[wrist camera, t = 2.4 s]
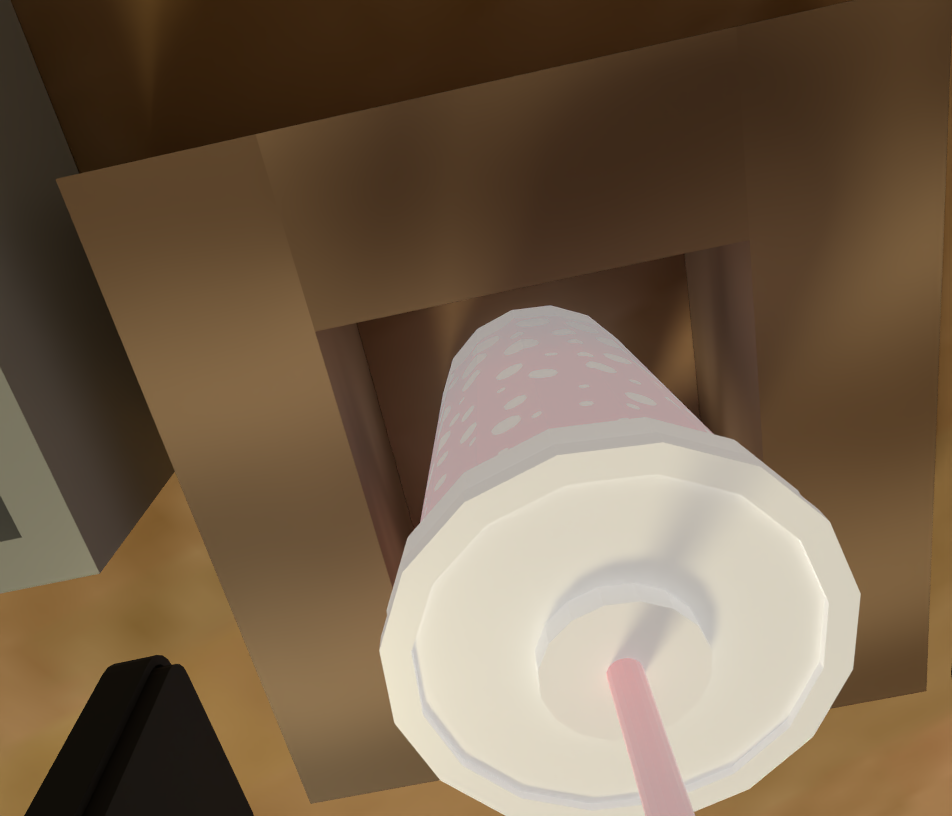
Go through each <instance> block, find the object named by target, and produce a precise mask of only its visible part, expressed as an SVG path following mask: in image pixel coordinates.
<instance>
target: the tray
mask: <svg viewBox="0 0 952 816" xmlns="http://www.w3.org/2000/svg"><path fill="white" fill-rule="evenodd" d="M75 174H79V172H78V169H77V167H76V164H75V162H74V159H73V157H72V154H71V152H70V149H69V147H68V144H67V142H66V139H65V137H64V134H63V132H62V129H61V127H60V124H59V121H58V119H57V116H56V114H55V111H54V109H53V106H52V104H51V101H50V99H49V96H48V94H47V91H46V89H45V86H44V84H43V81H42V79H41V76H40V73H39V71H38V68H37V66H36V63H35V61H34V58H33V56H32V53H31V51H30V48H29V46H28V43H27V41H26V38H25V36H24V33H23V31H22V28H21V25H20V23H19V20H18V18H17V15H16V13H15V10H14V8H13V5H12V3H11V0H0V593H5V592H10V591H15V590H20V589H25V588H30V587H35V586H40V585H45V584H50V583H55V582H60V581H65V580H70V579H75V578H80V577H85V576H90V575H95V574H100V572H101V571H102V570H103V568H104V567H105V566H106V564H107V563H108V562H109V560H110V559H111V558H112V556H113V555H114V553H115V552H116V551H117V549H118V548H119V547H120V545H121V544H122V543H123V541H124V540H125V538H126V537H127V536H128V534H129V533H130V532H131V530H132V529H133V528H134V526H135V525H136V523H137V522H138V521H139V519H140V518H141V517H142V515H143V514H144V513H145V511H146V510H147V509H148V507H149V506H150V504H151V503H152V502H153V500H154V499H155V498H156V496H157V495H158V494H159V492H160V491H161V489H162V488H163V487H164V485H165V484H166V483H167V481H168V480H169V479H170V477H171V476H172V474H173V473H174V472H175V470H174V468H173V466H172V463H171V461H170V458H169V456H168V453H167V451H166V448H165V446H164V444H163V441H162V439H161V436H160V434H159V431H158V429H157V426H156V424H155V422H154V419H153V417H152V414H151V412H150V409H149V407H148V404H147V402H146V400H145V397H144V395H143V392H142V390H141V387H140V385H139V382H138V380H137V378H136V375H135V373H134V370H133V368H132V365H131V363H130V360H129V358H128V356H127V353H126V351H125V348H124V346H123V343H122V341H121V338H120V336H119V334H118V331H117V329H116V326H115V324H114V321H113V319H112V316H111V314H110V312H109V309H108V307H107V304H106V302H105V299H104V297H103V294H102V292H101V289H100V287H99V285H98V282H97V280H96V277H95V275H94V272H93V270H92V267H91V265H90V263H89V260H88V258H87V255H86V253H85V250H84V248H83V245H82V243H81V241H80V238H79V236H78V233H77V231H76V228H75V226H74V223H73V221H72V219H71V216H70V214H69V211H68V209H67V206H66V204H65V201H64V199H63V197H62V194H61V192H60V189H59V187H58V184H57V182H56V179H58V178H62V177H67V176H71V175H75Z"/></svg>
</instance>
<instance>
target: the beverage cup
mask: <svg viewBox="0 0 952 816" xmlns="http://www.w3.org/2000/svg"><path fill="white" fill-rule="evenodd" d="M860 596H861V593H860V591H859V589H858V586H857V584H856V582H855V579H854V577H853V575H852V572H851V570H850V568H849V565H848V563H847V561H846V558H845V556H844V554H843V551H842V549H841V547H840V544H839V542H838V540H837V537H836V535H835V533H834V530H833V528H832V526H831V523H830V521H829V520H828V519H827V518H826V517H825V516H824V515H823V514H822V512H821V511H820V510H819V509H817V508H816V507H815V506H814V505H812V504H811V503H810V502H809V501H807V500H806V499H805V498H804V497H802V496H801V495H800V493H799V491H798V490H797V489H796V488H794V487H793V486H792V485H791V484H789V483H788V482H787V481H786V480H784V479H783V478H782V477H781V476H779V475H778V474H777V473H776V472H774V471H773V470H772V469H771V468H769V467H768V466H767V465H766V464H764V463H763V462H762V461H761V460H759V459H758V458H757V457H756V456H754V455H753V454H752V453H751V452H749V451H748V450H747V449H746V448H744V447H743V446H742V445H740V444H739V443H738V442H737V441H735V440H734V439H730V438H726V437H722V436H718V435H714V434H713V433H712V432H711V431H710V430H709V429H708V428H707V427H706V426H705V425H704V424H703V423H702V422H701V421H700V420H699V419H698V418H697V417H696V416H695V415H694V414H693V413H692V412H691V411H690V410H689V409H688V408H687V407H686V406H685V405H684V404H683V403H682V402H681V401H680V400H679V399H678V398H677V397H676V396H675V395H673V394H672V393H671V392H670V391H669V390H668V389H667V388H666V387H665V386H664V385H663V384H662V383H661V382H660V381H659V380H658V379H657V378H656V377H655V376H654V375H653V374H652V373H651V372H650V371H649V370H648V369H647V368H646V367H645V366H644V365H643V364H642V363H641V362H640V361H639V360H638V359H637V358H636V357H635V356H634V355H633V354H632V353H631V352H630V351H629V350H628V349H627V348H626V347H625V346H624V345H623V344H622V343H621V342H620V341H619V340H618V339H617V338H615V337H614V336H613V335H612V334H610V333H609V332H608V331H607V330H605V329H604V328H603V327H602V326H600V325H599V324H598V323H597V322H595V321H594V320H593V319H592V318H590V317H589V316H588V315H584V314H581V313H577V312H573V311H570V310H566V309H562V308H559V307H555V306H551V305H550V306H542V307H534V308H525V309H517V310H511V311H509V312H507V313H506V314H504V315H502V316H500V317H498V318H496V319H495V320H493V321H491V322H489V323H487V324H485V325H484V326H482V327H480V328H478V329H477V330H476V331H475V332H474V334H473V335H472V336H471V337H470V338H469V340H468V341H467V342H466V343H465V345H464V346H463V347H462V348H461V349H460V351H459V352H458V353H457V354H456V356H455V357H454V358H453V361H452V364H451V368H450V371H449V375H448V378H447V382H446V385H445V389H444V392H443V397H442V403H441V408H440V414H439V420H438V425H437V431H436V436H435V442H434V448H433V453H432V459H431V465H430V470H429V476H428V482H427V487H426V493H425V498H424V504H423V510H422V515H421V521H420V524H419V525H418V526H417V527H416V528H415V529H414V531H413V532H412V533H411V534H410V535H409V536H408V538H407V541H406V545H405V548H404V552H403V555H402V558H401V562H400V565H399V569H398V572H397V576H396V579H395V583H394V586H393V590H392V593H391V596H390V600H389V603H388V607H387V610H386V611H387V617H386V621H385V624H384V628H383V631H382V635H381V641H380V649H379V652H380V657H381V661H382V666H383V671H384V676H385V681H386V685H387V690H388V695H389V700H390V705H391V709H392V714H393V719H394V723H395V725H396V726H397V727H398V728H399V730H400V731H401V732H402V733H403V735H404V736H405V737H406V738H407V739H408V741H409V742H410V743H411V744H412V746H413V747H414V748H415V749H416V751H417V752H418V753H419V754H420V756H421V757H422V758H423V759H424V761H425V762H426V763H427V764H428V766H429V767H430V768H431V769H432V771H433V772H434V773H435V774H436V776H437V777H438V778H439V779H440V780H441V781H443V782H444V783H446V784H448V785H450V786H452V787H454V788H455V789H457V790H459V791H461V792H463V793H465V794H467V795H468V796H470V797H472V798H474V799H476V800H478V801H479V802H481V803H483V804H485V805H487V806H489V807H491V808H492V809H494V810H496V811H498V812H500V813H502V814H504V815H505V816H695V814H694V811H697V810H699V809H702V808H704V807H707V806H709V805H711V804H714V803H716V802H719V801H721V800H724V799H726V798H729V797H731V796H733V795H736V794H738V793H741V792H743V791H746V790H748V789H750V788H751V787H752V786H754V785H755V784H756V783H757V782H758V781H760V780H761V779H762V778H763V777H765V776H766V775H767V774H768V773H769V772H771V771H772V770H773V769H774V768H776V767H777V766H778V765H779V764H780V763H782V762H783V761H784V760H785V759H787V758H788V757H789V756H790V755H791V754H793V753H794V752H795V751H796V750H798V749H799V748H800V747H801V746H802V745H804V744H805V743H806V742H807V741H809V740H810V739H811V738H812V737H813V736H814V734H815V733H816V731H817V729H818V728H819V726H820V724H821V722H822V721H823V719H824V717H825V716H826V714H827V712H828V711H829V709H830V707H831V706H832V704H833V702H834V701H835V699H836V697H837V696H838V694H839V692H840V690H841V689H842V687H843V685H844V684H845V682H846V680H847V679H848V677H849V675H850V674H851V672H852V670H853V665H854V655H855V645H856V635H857V625H858V615H859V606H860Z"/></svg>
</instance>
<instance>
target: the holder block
mask: <svg viewBox="0 0 952 816" xmlns="http://www.w3.org/2000/svg"><path fill="white" fill-rule="evenodd" d="M951 30H952V0H852V1H848V2H843V3H839V4H834V5H830V6H826V7H821V8H817V9H812V10H808V11H803V12H799V13H794V14H790V15H785V16H781V17H776V18H772V19H767V20H763V21H759V22H754V23H750V24H745V25H741V26H736V27H732V28H727V29H723V30H718V31H714V32H709V33H705V34H701V35H696V36H692V37H687V38H683V39H678V40H674V41H669V42H665V43H660V44H656V45H651V46H647V47H642V48H638V49H634V50H629V51H625V52H620V53H616V54H611V55H607V56H602V57H598V58H593V59H589V60H584V61H580V62H576V63H571V64H567V65H562V66H558V67H553V68H549V69H544V70H540V71H535V72H531V73H526V74H522V75H517V76H513V77H509V78H504V79H500V80H495V81H491V82H486V83H482V84H477V85H473V86H468V87H464V88H459V89H455V90H451V91H446V92H442V93H437V94H433V95H428V96H424V97H419V98H415V99H410V100H406V101H401V102H397V103H392V104H388V105H384V106H379V107H375V108H370V109H366V110H361V111H357V112H352V113H348V114H343V115H339V116H334V117H330V118H325V119H321V120H317V121H312V122H308V123H303V124H299V125H294V126H290V127H285V128H281V129H276V130H272V131H267V132H263V133H259V134H254V135H250V136H245V137H241V138H236V139H232V140H227V141H223V142H218V143H214V144H209V145H205V146H200V147H196V148H192V149H187V150H183V151H178V152H174V153H169V154H165V155H160V156H156V157H151V158H147V159H142V160H138V161H134V162H129V163H125V164H120V165H116V166H111V167H107V168H102V169H98V170H93V171H89V172H84V173H80V174H75V175H71V176H67V177H62V178H58V179H56V182H57V184H58V187H59V189H60V192H61V194H62V197H63V199H64V201H65V204H66V206H67V209H68V211H69V214H70V216H71V219H72V221H73V223H74V226H75V228H76V231H77V233H78V236H79V238H80V241H81V243H82V245H83V248H84V250H85V253H86V255H87V258H88V260H89V263H90V265H91V267H92V270H93V272H94V275H95V277H96V280H97V282H98V285H99V287H100V289H101V292H102V294H103V297H104V299H105V302H106V304H107V307H108V309H109V312H110V314H111V316H112V319H113V321H114V324H115V326H116V329H117V331H118V334H119V336H120V338H121V341H122V343H123V346H124V348H125V351H126V353H127V356H128V358H129V360H130V363H131V365H132V368H133V370H134V373H135V375H136V378H137V380H138V382H139V385H140V387H141V390H142V392H143V395H144V397H145V400H146V402H147V404H148V407H149V409H150V412H151V414H152V417H153V419H154V422H155V424H156V426H157V429H158V431H159V434H160V436H161V439H162V441H163V444H164V446H165V448H166V451H167V453H168V456H169V458H170V461H171V463H172V466H173V468H174V470H175V473H176V475H177V478H178V480H179V483H180V485H181V488H182V490H183V492H184V495H185V497H186V500H187V502H188V505H189V507H190V510H191V512H192V515H193V517H194V519H195V522H196V524H197V527H198V529H199V532H200V534H201V537H202V539H203V541H204V544H205V546H206V549H207V551H208V554H209V556H210V559H211V561H212V563H213V566H214V568H215V571H216V573H217V576H218V578H219V581H220V583H221V585H222V588H223V590H224V593H225V595H226V598H227V600H228V603H229V605H230V607H231V610H232V612H233V615H234V617H235V620H236V622H237V625H238V627H239V629H240V632H241V634H242V637H243V639H244V642H245V644H246V647H247V649H248V651H249V654H250V656H251V659H252V661H253V664H254V666H255V669H256V671H257V673H258V676H259V678H260V681H261V683H262V686H263V688H264V691H265V693H266V695H267V698H268V700H269V703H270V705H271V708H272V710H273V713H274V715H275V717H276V720H277V722H278V725H279V727H280V730H281V732H282V735H283V737H284V740H285V742H286V744H287V747H288V749H289V752H290V754H291V757H292V759H293V762H294V764H295V766H296V769H297V771H298V774H299V776H300V779H301V781H302V784H303V786H304V788H305V791H306V793H307V796H308V798H309V801H310V803H311V804H312V803H317V802H323V801H328V800H334V799H339V798H345V797H350V796H356V795H361V794H367V793H372V792H378V791H383V790H388V789H394V788H399V787H405V786H410V785H416V784H421V783H427V782H432V781H438V780H440V779H439V778H438V777H437V776H436V774H435V773H434V772H433V771H432V769H431V768H430V767H429V766H428V764H427V763H426V762H425V761H424V759H423V758H422V757H421V756H420V754H419V753H418V752H417V751H416V749H415V748H414V747H413V746H412V744H411V743H410V742H409V741H408V739H407V738H406V737H405V736H404V735H403V733H402V732H401V731H400V730H399V728H398V727H397V726H396V725H395V723H394V719H393V714H392V709H391V705H390V700H389V695H388V690H387V685H386V681H385V676H384V671H383V666H382V661H381V657H380V652H379V649H380V641H381V635H382V631H383V628H384V624H385V621H386V617H387V611H386V610H387V607H388V603H389V600H390V596H391V593H392V590H393V586H394V583H395V579H396V576H397V572H398V569H399V565H400V562H401V558H402V555H403V552H404V548H405V545H406V541H407V538H408V536H409V535H410V534H411V533H412V532H413V531H414V529H413V525H412V521H411V518H410V514H409V511H408V507H407V503H406V500H405V496H404V493H403V489H402V485H401V482H400V478H399V475H398V471H397V467H396V464H395V460H394V457H393V453H392V449H391V446H390V442H389V439H388V435H387V431H386V428H385V424H384V421H383V417H382V413H381V410H380V406H379V403H378V399H377V395H376V392H375V388H374V385H373V381H372V377H371V374H370V370H369V367H368V363H367V359H366V356H365V352H364V349H363V345H362V341H361V338H360V334H359V331H358V327H357V323H358V322H363V321H368V320H373V319H377V318H382V317H387V316H391V315H396V314H401V313H406V312H410V311H415V310H420V309H425V308H429V307H434V306H439V305H444V304H448V303H453V302H458V301H462V300H467V299H472V298H477V297H481V296H486V295H491V294H496V293H500V292H505V291H510V290H515V289H519V288H524V287H529V286H533V285H538V284H543V283H548V282H552V281H557V280H562V279H567V278H571V277H576V276H581V275H585V274H590V273H595V272H600V271H604V270H609V269H614V268H619V267H623V266H628V265H633V264H638V263H642V262H647V261H652V260H656V259H661V258H666V257H671V256H675V255H680V254H684V255H685V265H686V276H687V286H688V296H689V307H690V317H691V327H692V338H693V348H694V358H695V369H696V379H697V389H698V400H699V410H700V420H701V422H702V423H703V424H704V425H705V426H706V427H707V428H708V429H709V430H710V431H711V432H712V433H713V434H714V435H718V436H722V437H726V438H730V439H734V440H735V441H737V442H738V443H739V444H740V445H742V446H743V447H744V448H746V449H747V450H748V451H749V452H751V453H752V454H753V455H754V456H756V457H757V458H758V459H759V460H761V461H762V462H763V463H764V464H766V465H767V466H768V467H769V468H771V469H772V470H773V471H774V472H776V473H777V474H778V475H779V476H781V477H782V478H783V479H784V480H786V481H787V482H788V483H789V484H791V485H792V486H793V487H794V488H796V489H797V490H798V491H799V493H800V495H801V496H802V497H804V498H805V499H806V500H807V501H809V502H810V503H811V504H812V505H814V506H815V507H816V508H817V509H819V510H820V511H821V512H822V514H823V515H824V516H825V517H826V518H827V519H828V520H829V521H830V523H831V526H832V528H833V530H834V533H835V535H836V537H837V540H838V542H839V544H840V547H841V549H842V551H843V554H844V556H845V558H846V561H847V563H848V565H849V568H850V570H851V572H852V575H853V577H854V579H855V582H856V584H857V586H858V589H859V591H860V593H861V596H860V606H859V615H858V625H857V635H856V645H855V655H854V665H853V670H852V672H851V674H850V675H849V677H848V679H847V680H846V682H845V684H844V685H843V687H842V689H841V690H840V692H839V694H838V696H837V697H836V699H835V701H834V702H833V704H832V706H831V707H830V709H831V708H836V707H842V706H847V705H853V704H858V703H864V702H869V701H874V700H880V699H885V698H891V697H896V696H902V695H907V694H913V693H918V692H924V691H926V685H927V658H928V632H929V606H930V580H931V554H932V527H933V501H934V475H935V449H936V423H937V396H938V370H939V344H940V318H941V292H942V266H943V239H944V213H945V187H946V161H947V135H948V108H949V82H950V56H951Z"/></svg>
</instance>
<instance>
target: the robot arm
mask: <svg viewBox="0 0 952 816" xmlns="http://www.w3.org/2000/svg"><path fill="white" fill-rule="evenodd" d="M951 675H952V670H951ZM24 816H254V815H253V812H252V810H251V808H250V806H249V804H248V801H247V799H246V797H245V795H244V793H243V791H242V789H241V787H240V784H239V782H238V780H237V778H236V776H235V774H234V772H233V770H232V767H231V765H230V763H229V761H228V759H227V757H226V755H225V753H224V750H223V748H222V746H221V744H220V742H219V740H218V738H217V736H216V733H215V731H214V729H213V727H212V725H211V723H210V721H209V719H208V716H207V714H206V712H205V710H204V708H203V706H202V704H201V702H200V699H199V697H198V695H197V693H196V691H195V689H194V687H193V685H192V682H191V680H190V678H189V676H188V674H187V672H186V670H185V669H184V667H183V666H181V665H180V664H173V665H171V663H170V662H169V660H168V659H167V658H165V657H164V656H162V655H155V656H151V657H146V658H141V659H136V660H131V661H126V662H122V663H117V664H113V665H111V666H110V667H108V668H107V669H106V671H105V672H104V673H103V675H102V677H101V678H100V680H99V682H98V684H97V686H96V687H95V689H94V691H93V693H92V695H91V696H90V698H89V700H88V702H87V704H86V705H85V707H84V709H83V711H82V713H81V714H80V716H79V718H78V720H77V722H76V723H75V725H74V727H73V729H72V731H71V732H70V734H69V736H68V738H67V740H66V741H65V743H64V745H63V747H62V749H61V750H60V752H59V754H58V756H57V758H56V760H55V761H54V763H53V765H52V767H51V769H50V770H49V772H48V774H47V776H46V778H45V779H44V781H43V783H42V785H41V787H40V788H39V790H38V792H37V794H36V796H35V797H34V799H33V801H32V803H31V805H30V806H29V808H28V810H27V812H26V814H25V815H24Z"/></svg>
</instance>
